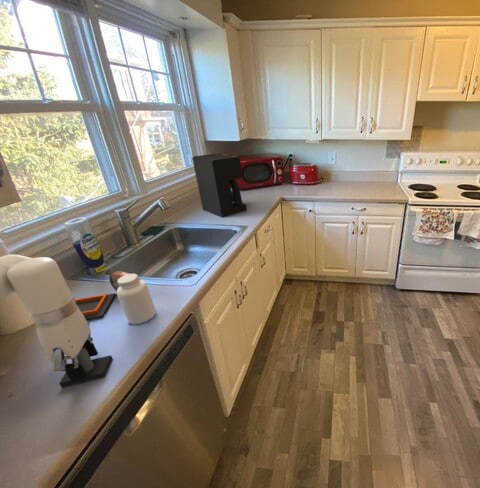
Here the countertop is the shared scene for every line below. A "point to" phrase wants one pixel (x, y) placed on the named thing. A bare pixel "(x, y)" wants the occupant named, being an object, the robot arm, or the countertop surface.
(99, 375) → the stud pad
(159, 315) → the countertop surface
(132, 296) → the pill bottle
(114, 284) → the tin
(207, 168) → the coffee maker
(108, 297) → the base pad
